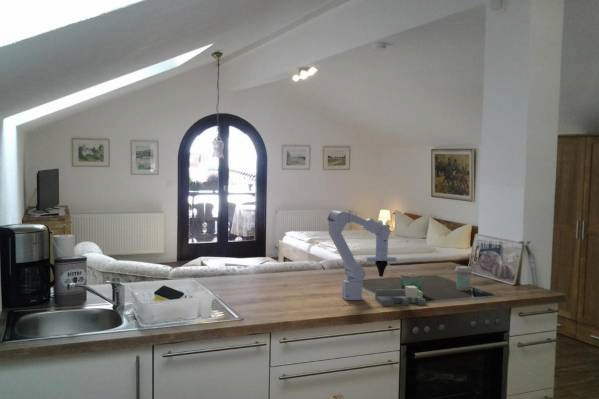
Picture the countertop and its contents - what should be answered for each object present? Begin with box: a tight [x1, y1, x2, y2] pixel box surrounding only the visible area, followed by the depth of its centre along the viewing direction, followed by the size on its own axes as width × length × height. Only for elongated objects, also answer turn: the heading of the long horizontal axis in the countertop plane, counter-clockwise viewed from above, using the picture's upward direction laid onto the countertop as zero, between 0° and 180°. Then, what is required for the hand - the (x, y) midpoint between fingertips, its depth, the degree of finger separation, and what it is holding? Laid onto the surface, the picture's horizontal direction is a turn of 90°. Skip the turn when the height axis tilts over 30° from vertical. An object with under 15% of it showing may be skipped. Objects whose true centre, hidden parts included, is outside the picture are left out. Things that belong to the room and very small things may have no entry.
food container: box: [399, 274, 425, 292], centre depth 278 cm, size 12×6×10 cm, turn 101°
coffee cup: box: [454, 265, 473, 292], centre depth 294 cm, size 9×8×12 cm
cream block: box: [405, 286, 418, 297], centre depth 267 cm, size 4×4×4 cm
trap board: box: [374, 288, 427, 307], centre depth 264 cm, size 21×11×5 cm, turn 98°
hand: (380, 276), depth 276 cm, fingers closed
